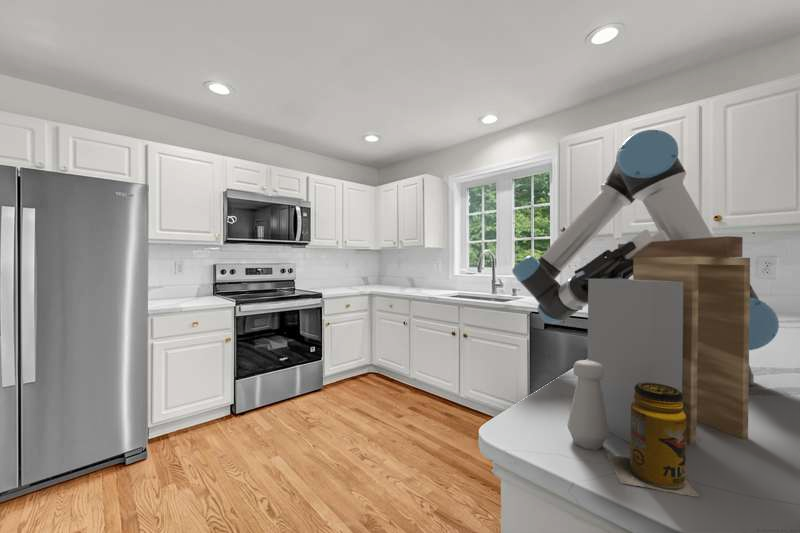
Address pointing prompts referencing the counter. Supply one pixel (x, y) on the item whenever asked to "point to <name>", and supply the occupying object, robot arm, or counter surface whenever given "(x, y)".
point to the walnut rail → (693, 248)
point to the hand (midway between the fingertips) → (657, 235)
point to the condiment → (656, 441)
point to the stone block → (634, 340)
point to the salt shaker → (588, 407)
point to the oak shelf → (710, 337)
